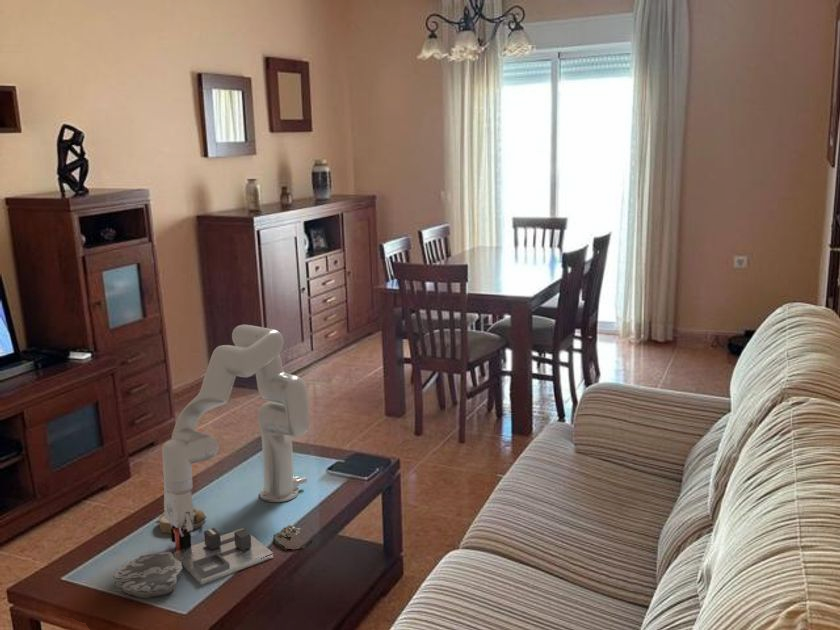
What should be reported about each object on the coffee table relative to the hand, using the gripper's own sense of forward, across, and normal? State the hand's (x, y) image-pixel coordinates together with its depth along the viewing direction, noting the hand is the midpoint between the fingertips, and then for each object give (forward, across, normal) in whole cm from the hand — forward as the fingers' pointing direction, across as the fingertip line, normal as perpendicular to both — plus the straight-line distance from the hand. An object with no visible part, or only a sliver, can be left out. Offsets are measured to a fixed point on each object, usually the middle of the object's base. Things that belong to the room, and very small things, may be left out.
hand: (181, 543), depth 213 cm
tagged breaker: (0, +7, +6) cm, 9 cm away
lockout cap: (+2, 0, +1) cm, 2 cm away
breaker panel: (+2, +12, +7) cm, 14 cm away
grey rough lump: (+2, +17, +26) cm, 31 cm away
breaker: (0, +13, +12) cm, 18 cm away
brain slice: (+3, +10, -14) cm, 17 cm away
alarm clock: (+2, -13, +6) cm, 14 cm away
